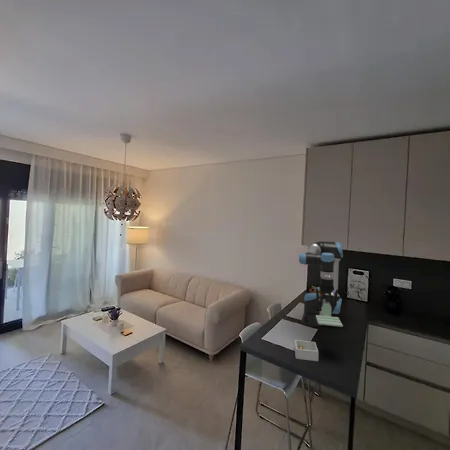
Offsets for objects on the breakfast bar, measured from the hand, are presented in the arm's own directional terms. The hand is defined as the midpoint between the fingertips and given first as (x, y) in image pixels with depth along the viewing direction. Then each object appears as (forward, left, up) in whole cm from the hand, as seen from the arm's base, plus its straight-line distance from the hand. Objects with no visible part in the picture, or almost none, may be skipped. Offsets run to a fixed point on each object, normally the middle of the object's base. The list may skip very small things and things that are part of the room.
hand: (326, 316), depth 155 cm
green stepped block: (+7, 0, 0) cm, 7 cm away
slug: (+8, -15, -20) cm, 26 cm away
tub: (+11, -13, -21) cm, 26 cm away
